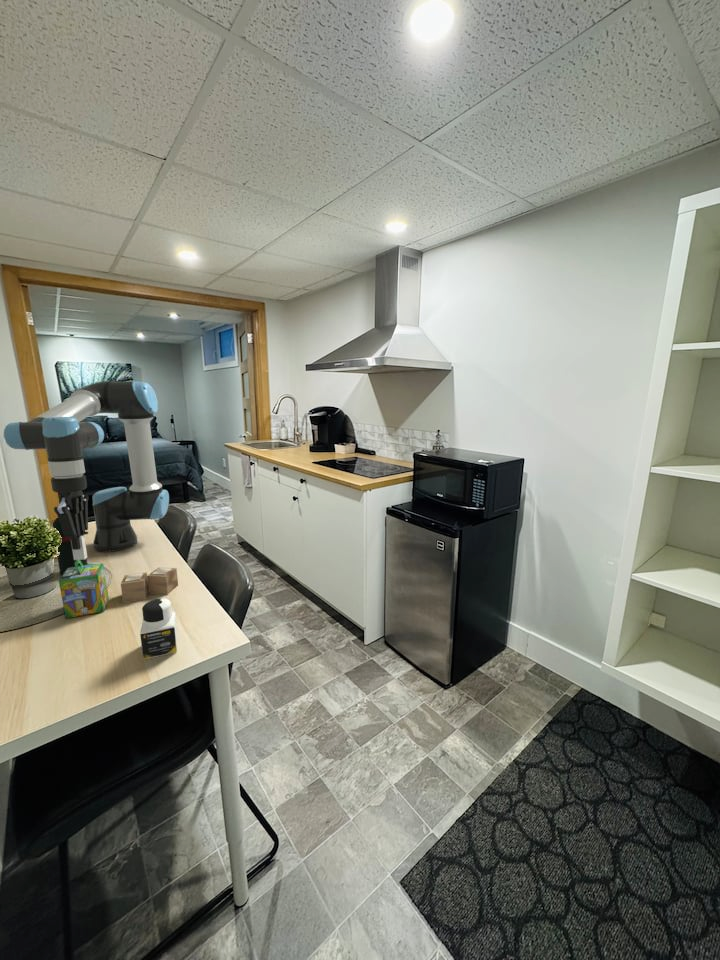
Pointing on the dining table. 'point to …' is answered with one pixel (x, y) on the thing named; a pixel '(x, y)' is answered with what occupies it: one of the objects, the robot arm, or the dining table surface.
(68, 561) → the wine bottle
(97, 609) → the chalk box
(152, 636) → the medicine bottle
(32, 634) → the dining table surface
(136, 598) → the walnut block
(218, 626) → the dining table surface
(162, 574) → the walnut block
